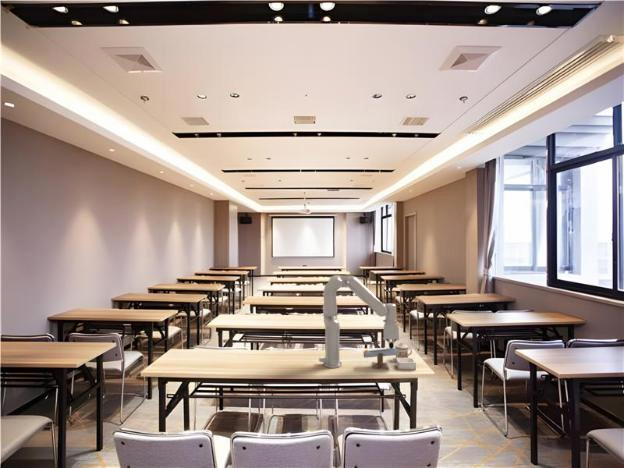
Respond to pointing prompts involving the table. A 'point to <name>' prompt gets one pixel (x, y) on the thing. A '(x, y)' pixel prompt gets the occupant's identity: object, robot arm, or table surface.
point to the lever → (380, 352)
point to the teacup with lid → (402, 351)
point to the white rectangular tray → (406, 363)
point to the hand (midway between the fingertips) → (391, 348)
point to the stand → (380, 363)
